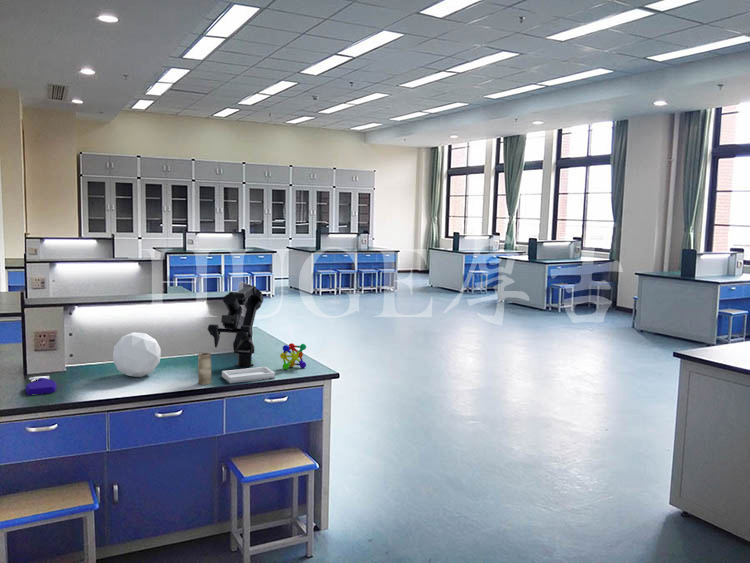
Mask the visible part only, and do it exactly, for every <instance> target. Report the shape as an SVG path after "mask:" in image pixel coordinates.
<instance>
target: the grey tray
mask: <svg viewBox="0 0 750 563" xmlns="http://www.w3.org/2000/svg"><path fill="white" fill-rule="evenodd" d="M275 376H276V373H275V372H274V371H273V370H271V369H270V368H268V367H267V366H259V367H258V366H257V367H249V368H248V367H246V368H239V369H231V370H229V369H228V370H222V371H221V377H222V378H223V379H224V380H226V382H227V383H229V384H237V383H244V382H246V383H247V382H253V381H254V382H255V381H261V380H262V379H264V380H270V379H269V378H273V379H275V378H276V377H275Z"/></svg>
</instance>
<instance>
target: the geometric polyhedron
mask: <svg viewBox="0 0 750 563" xmlns="http://www.w3.org/2000/svg"><path fill="white" fill-rule="evenodd" d="M112 353H113V355H112V361H113V363H114V366H115V368H116V369H117V371H119V372H120V373H123V374H124V375H126V376H128V377H135V378H142V377H145V376H147V375H149V374H151V373H153V371H154V370H155V369H156V368H157V367H158V365H159V364H160V362H161V353H162V349H161V347H160V345H159V343H158V341H157V339H155V338H154V337H153V336H150V335H149V334H147V333H146V332H135V331H133V332H130V333H128V334H125V335H123V336H121V337H120V339H119V340H118V341H117V343H116V344H115V345H114V346H113V352H112Z"/></svg>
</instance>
